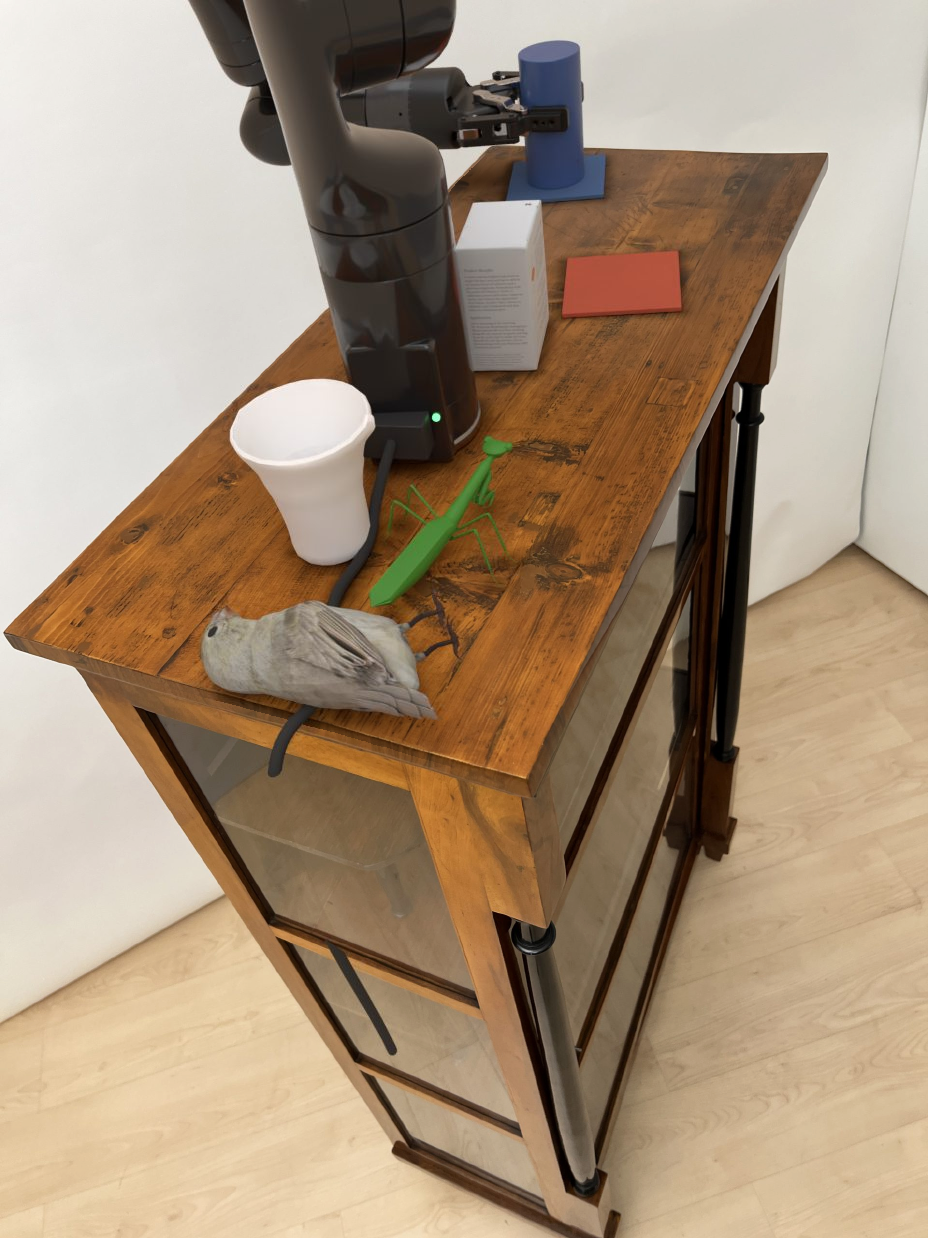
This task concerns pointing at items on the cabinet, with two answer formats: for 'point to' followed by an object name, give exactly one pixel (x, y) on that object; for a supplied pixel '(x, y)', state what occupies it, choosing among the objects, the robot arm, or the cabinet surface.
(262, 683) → the decorative bird
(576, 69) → the blue can
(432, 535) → the praying mantis
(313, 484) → the cup
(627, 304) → the terracotta mat
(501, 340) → the small box
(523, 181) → the blue mat
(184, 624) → the cabinet surface
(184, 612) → the cabinet surface
